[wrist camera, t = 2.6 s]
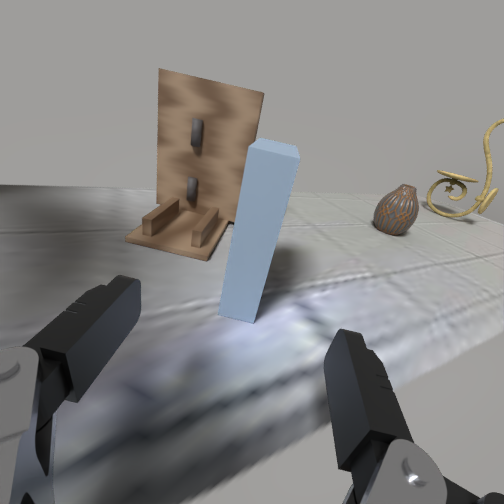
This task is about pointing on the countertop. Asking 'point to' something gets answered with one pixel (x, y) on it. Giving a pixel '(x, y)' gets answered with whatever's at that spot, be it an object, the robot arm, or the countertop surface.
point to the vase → (397, 210)
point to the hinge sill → (198, 162)
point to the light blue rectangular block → (257, 225)
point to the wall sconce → (456, 177)
